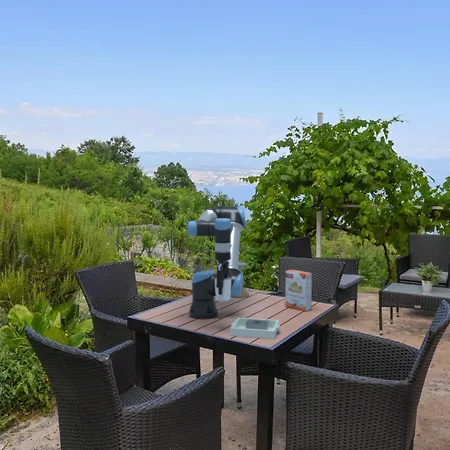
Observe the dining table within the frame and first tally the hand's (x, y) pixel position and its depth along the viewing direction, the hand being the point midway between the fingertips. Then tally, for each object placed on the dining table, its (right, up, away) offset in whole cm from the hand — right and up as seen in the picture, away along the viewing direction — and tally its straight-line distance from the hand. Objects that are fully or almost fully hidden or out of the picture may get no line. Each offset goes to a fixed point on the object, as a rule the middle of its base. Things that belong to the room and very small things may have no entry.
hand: (223, 298), depth 223 cm
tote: (+15, -15, -4) cm, 22 cm away
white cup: (0, 0, 0) cm, 0 cm away
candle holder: (+10, -9, +69) cm, 70 cm away
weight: (+16, -14, 0) cm, 21 cm away
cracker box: (+42, -12, +39) cm, 58 cm away
